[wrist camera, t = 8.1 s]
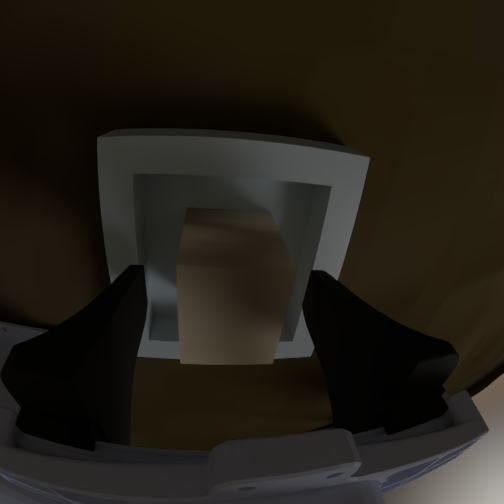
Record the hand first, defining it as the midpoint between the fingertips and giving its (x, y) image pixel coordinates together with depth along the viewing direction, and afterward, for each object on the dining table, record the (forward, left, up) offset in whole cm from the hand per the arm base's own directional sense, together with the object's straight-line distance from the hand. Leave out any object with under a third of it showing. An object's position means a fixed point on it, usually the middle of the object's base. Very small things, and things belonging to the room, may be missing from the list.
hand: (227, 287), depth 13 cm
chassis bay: (0, 0, -3) cm, 3 cm away
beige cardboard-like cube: (0, 0, -3) cm, 3 cm away
